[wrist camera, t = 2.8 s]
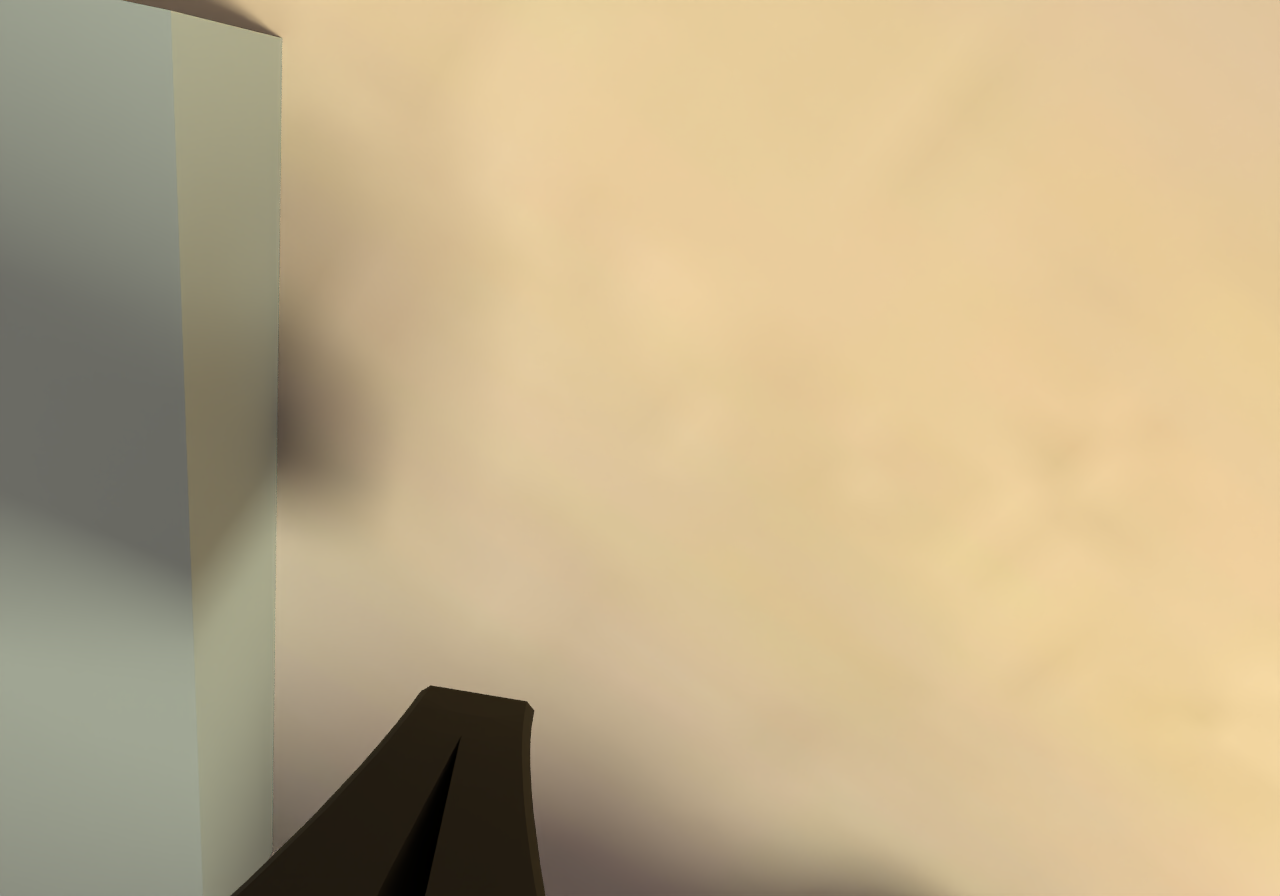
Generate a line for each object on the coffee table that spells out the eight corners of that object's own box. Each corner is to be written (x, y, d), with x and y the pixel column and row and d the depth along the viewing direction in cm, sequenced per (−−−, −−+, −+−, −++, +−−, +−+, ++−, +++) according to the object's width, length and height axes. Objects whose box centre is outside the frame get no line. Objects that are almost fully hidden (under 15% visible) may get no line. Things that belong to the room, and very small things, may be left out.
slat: (293, 40, 11) (171, 10, 8) (279, 838, 17) (205, 974, 14) (10, -18, 11) (-212, -69, 8) (97, 808, 17) (-14, 940, 14)
